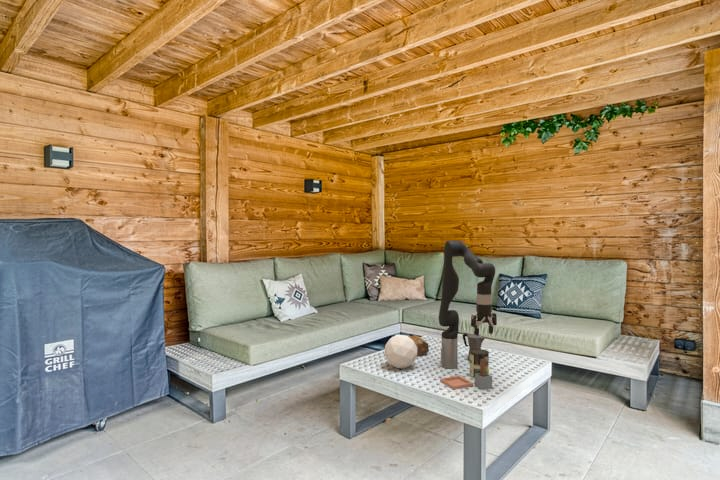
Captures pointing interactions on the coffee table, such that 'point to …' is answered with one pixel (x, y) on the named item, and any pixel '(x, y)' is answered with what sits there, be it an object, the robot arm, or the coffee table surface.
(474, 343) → the coffeepot
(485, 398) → the coffee table surface
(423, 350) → the petrified wood
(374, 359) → the coffee table surface
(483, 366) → the dowel
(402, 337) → the geometric orb
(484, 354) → the coffee can
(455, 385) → the tray
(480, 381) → the holder
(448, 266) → the robot arm
